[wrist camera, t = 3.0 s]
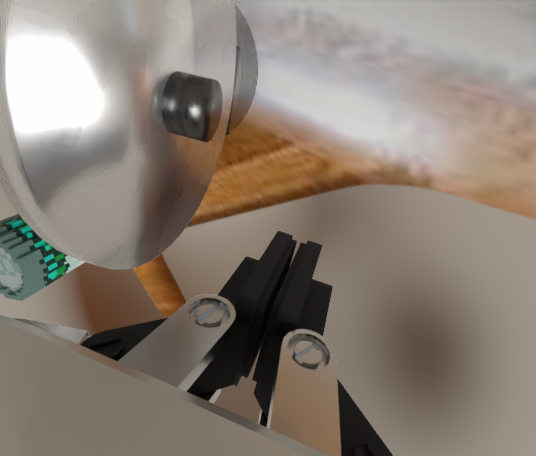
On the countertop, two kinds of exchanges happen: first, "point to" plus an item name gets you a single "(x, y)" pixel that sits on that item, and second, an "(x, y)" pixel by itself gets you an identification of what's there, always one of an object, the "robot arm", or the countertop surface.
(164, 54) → the lid
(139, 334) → the robot arm
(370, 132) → the countertop surface
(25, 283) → the can
